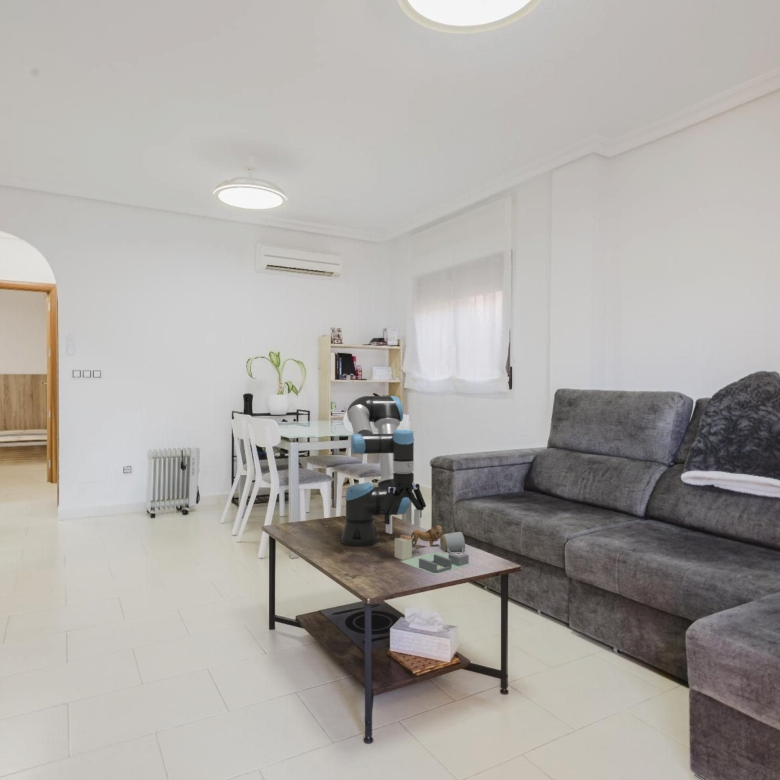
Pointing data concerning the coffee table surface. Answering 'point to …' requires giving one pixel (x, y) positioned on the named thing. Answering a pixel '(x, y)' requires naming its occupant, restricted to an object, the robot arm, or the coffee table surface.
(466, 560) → the fan
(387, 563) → the coffee table surface
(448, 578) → the coffee table surface
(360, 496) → the robot arm
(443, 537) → the ceramic mug
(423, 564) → the header
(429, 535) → the lion figurine
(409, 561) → the board
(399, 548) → the plug
